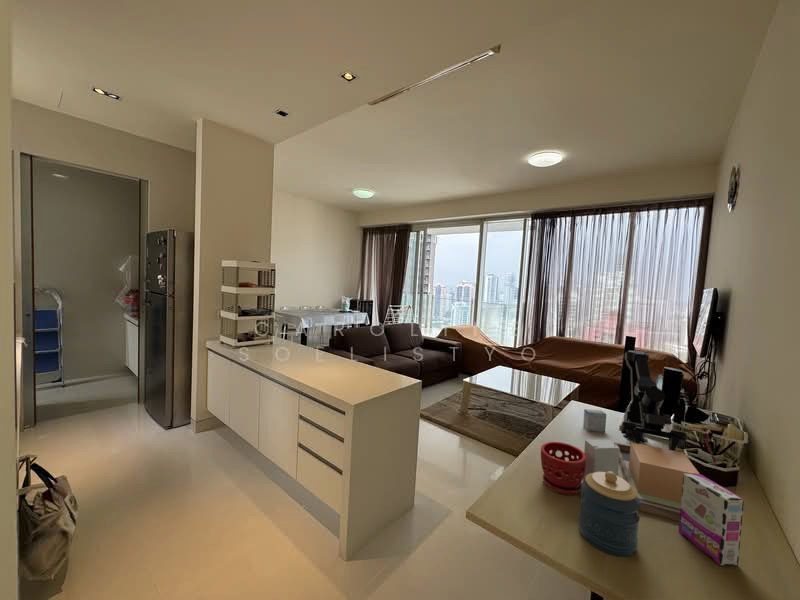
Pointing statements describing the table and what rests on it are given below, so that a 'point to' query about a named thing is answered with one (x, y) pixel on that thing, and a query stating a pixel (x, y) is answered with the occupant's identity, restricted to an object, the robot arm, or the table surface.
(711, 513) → the candy bar box
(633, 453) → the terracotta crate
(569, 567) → the table surface
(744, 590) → the table surface
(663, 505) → the tray
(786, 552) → the table surface
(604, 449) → the skincare box
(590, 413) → the medicine box
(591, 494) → the canister
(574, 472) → the plant pot
